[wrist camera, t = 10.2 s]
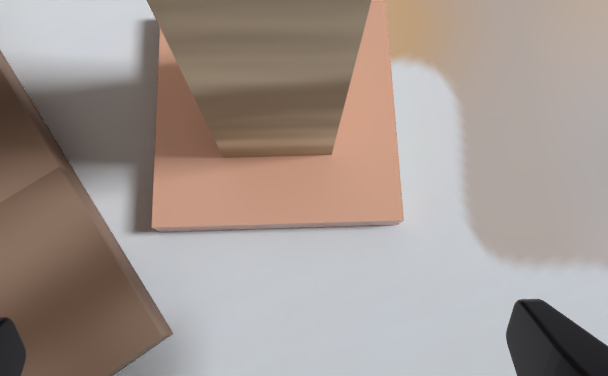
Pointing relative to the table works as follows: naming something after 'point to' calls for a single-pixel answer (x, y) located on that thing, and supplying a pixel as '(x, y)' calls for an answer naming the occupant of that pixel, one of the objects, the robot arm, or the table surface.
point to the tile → (281, 158)
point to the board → (62, 257)
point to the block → (266, 69)
